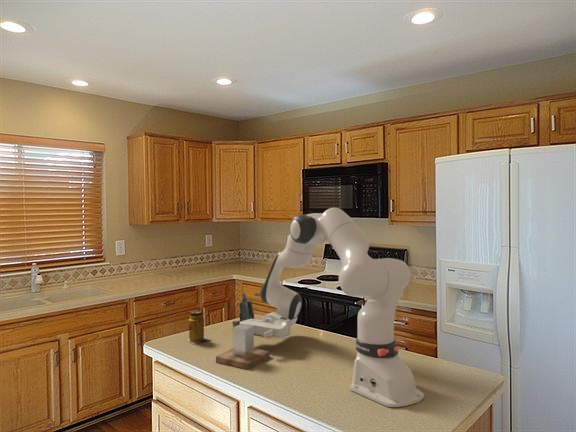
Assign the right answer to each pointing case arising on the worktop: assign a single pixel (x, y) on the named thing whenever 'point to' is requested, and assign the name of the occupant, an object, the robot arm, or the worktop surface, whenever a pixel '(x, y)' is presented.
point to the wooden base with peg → (243, 358)
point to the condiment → (196, 328)
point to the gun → (245, 311)
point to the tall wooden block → (243, 340)
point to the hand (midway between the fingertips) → (252, 333)
